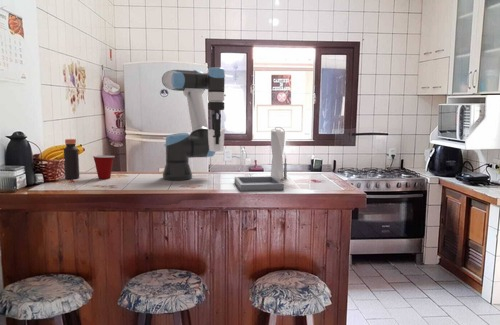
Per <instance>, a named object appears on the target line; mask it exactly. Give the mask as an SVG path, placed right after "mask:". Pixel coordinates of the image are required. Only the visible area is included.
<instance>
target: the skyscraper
mask: <svg viewBox="0 0 500 325" xmlns="http://www.w3.org/2000/svg"><path fill="white" fill-rule="evenodd" d="M285 137H286V131H285V129H284V128H283V127H281V126H276V127H274V129H273V128H272V129H271V131H270V147H271V148H270V149H271V155H272V156H271V167H270V176H274V177H275V178H277V179H278V180H279V181H281V180H282V181H285V180H287V179H288V177H287V176H288V175H287V174H288V173H287V172H288V171H287V169H288V167H287V155H285V157H284V158H283V153H284V148H285V139H286V138H285ZM283 159H284V160H283ZM283 162H284V163H283ZM282 181H281V182H282Z"/></svg>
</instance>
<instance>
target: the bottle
mask: <svg viewBox="0 0 500 325" xmlns="http://www.w3.org/2000/svg"><path fill="white" fill-rule="evenodd" d="M76 142H77V140H76V139H75V138H66V139H64V143H65V148H63V160H64V159H65V161H63V163H64V164H63V167H64V178H65V180H78V179H80V162H79V160H80V159H79V149H78V147H77V146H76V144H77V143H76Z"/></svg>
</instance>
